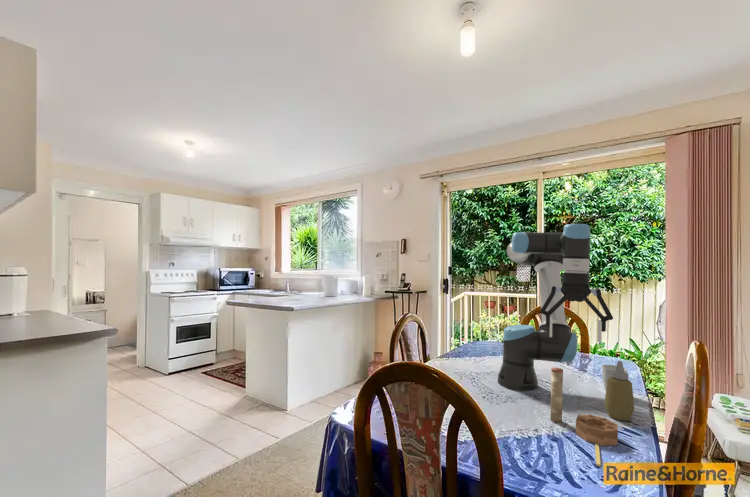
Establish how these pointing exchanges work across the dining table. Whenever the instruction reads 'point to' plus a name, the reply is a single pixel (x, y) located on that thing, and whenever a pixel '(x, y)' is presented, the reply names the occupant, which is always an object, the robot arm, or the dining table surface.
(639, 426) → the dining table surface
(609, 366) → the cup
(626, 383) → the squeeze bottle
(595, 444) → the pale yellow wooden rod
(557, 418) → the needle dowel
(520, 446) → the dining table surface
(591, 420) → the walnut bead
